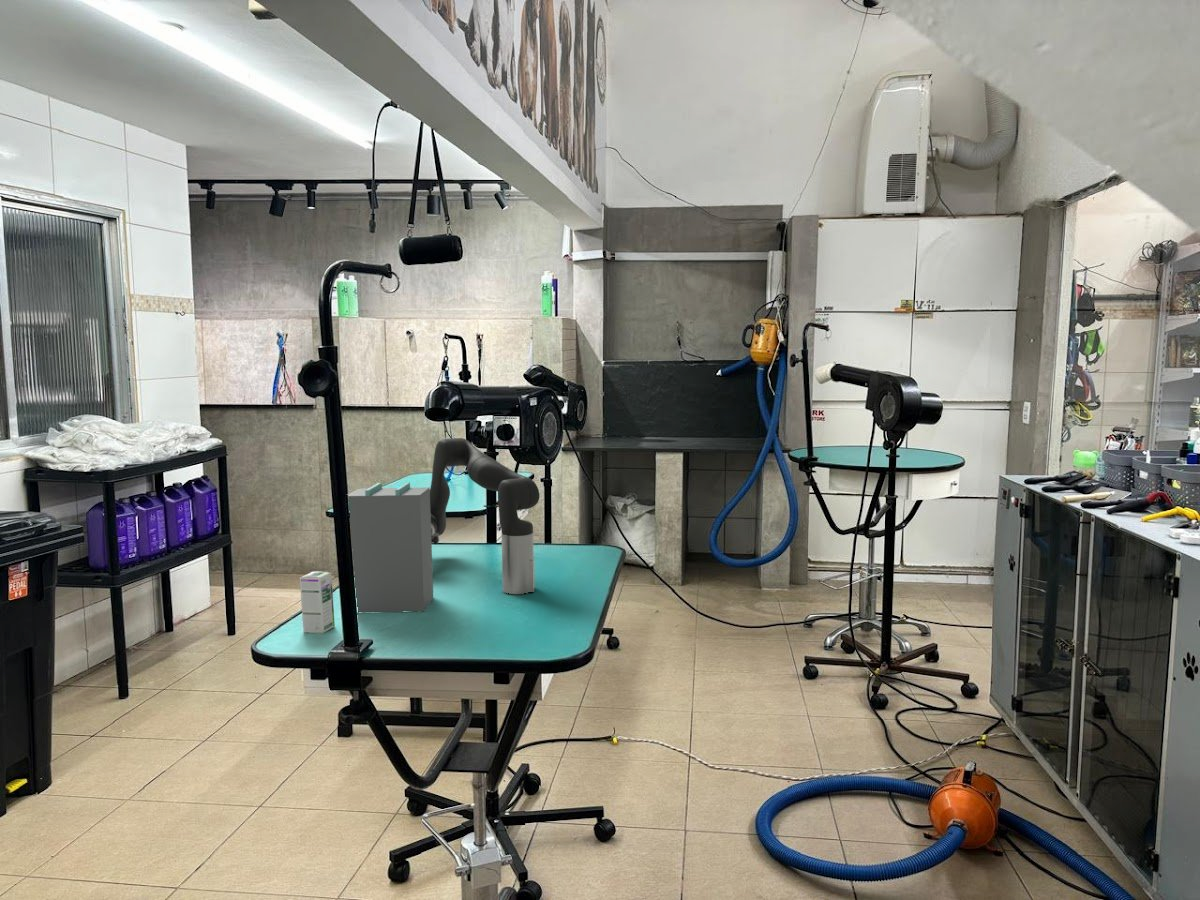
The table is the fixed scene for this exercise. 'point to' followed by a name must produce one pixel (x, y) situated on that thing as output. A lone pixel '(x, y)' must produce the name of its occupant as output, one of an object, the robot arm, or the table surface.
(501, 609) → the table surface
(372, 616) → the table surface
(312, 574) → the syrup box
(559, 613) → the table surface
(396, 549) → the tall grey pedestal
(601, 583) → the table surface
